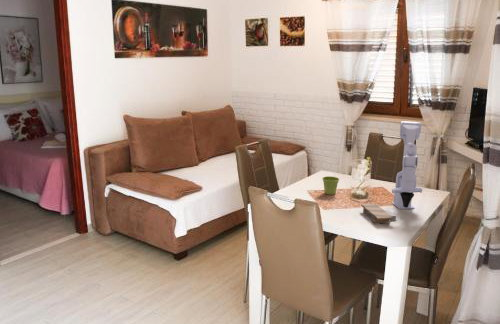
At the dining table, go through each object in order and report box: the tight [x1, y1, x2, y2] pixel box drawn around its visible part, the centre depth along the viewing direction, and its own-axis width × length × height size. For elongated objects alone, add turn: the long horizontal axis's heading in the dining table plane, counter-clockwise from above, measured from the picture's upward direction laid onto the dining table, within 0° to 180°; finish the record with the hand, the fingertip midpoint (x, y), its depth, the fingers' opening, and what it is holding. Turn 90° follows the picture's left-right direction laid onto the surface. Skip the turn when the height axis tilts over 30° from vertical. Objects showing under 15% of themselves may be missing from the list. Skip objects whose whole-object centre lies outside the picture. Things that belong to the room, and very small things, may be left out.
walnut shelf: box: [360, 203, 393, 224], centre depth 218 cm, size 20×8×4 cm, turn 9°
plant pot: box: [322, 176, 340, 196], centre depth 254 cm, size 9×9×9 cm
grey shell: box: [383, 209, 397, 221], centre depth 219 cm, size 8×10×2 cm
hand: (405, 206), depth 220 cm, fingers closed
